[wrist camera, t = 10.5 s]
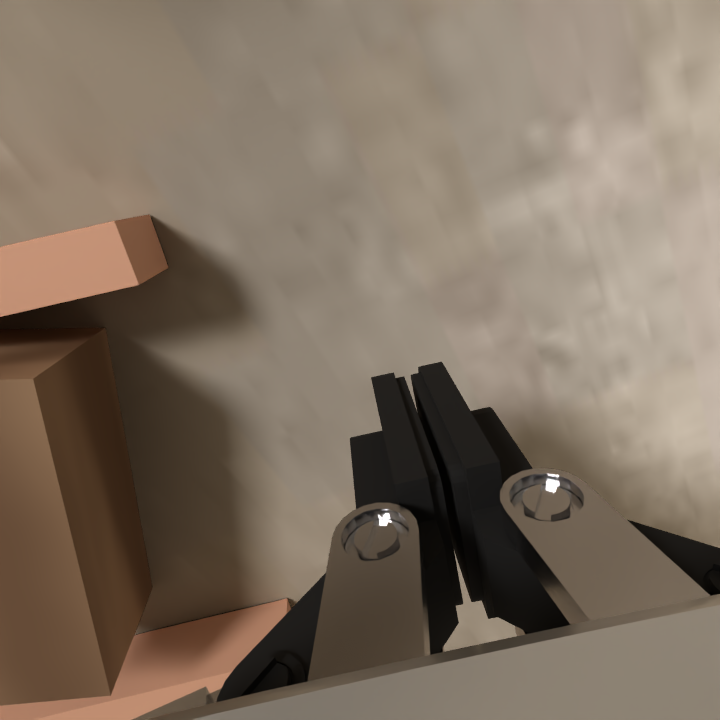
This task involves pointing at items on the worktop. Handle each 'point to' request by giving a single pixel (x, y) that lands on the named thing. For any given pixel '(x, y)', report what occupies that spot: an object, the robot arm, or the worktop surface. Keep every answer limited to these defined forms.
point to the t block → (65, 519)
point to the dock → (167, 645)
